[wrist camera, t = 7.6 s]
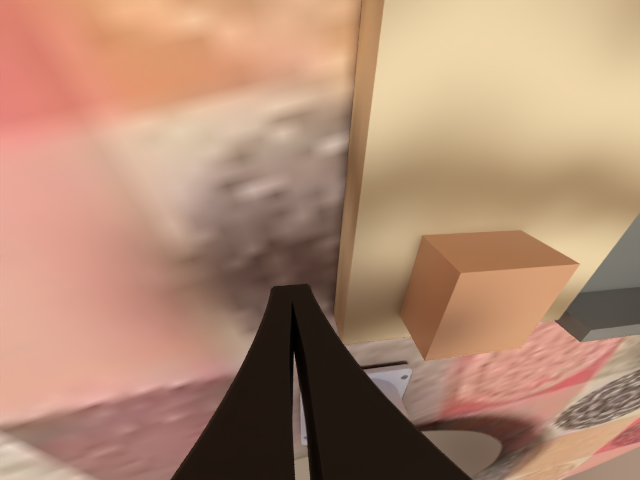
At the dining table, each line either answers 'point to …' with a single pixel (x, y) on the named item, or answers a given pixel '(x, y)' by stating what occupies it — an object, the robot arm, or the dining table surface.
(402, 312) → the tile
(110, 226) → the dining table surface
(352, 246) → the board
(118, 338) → the dining table surface
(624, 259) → the tray
